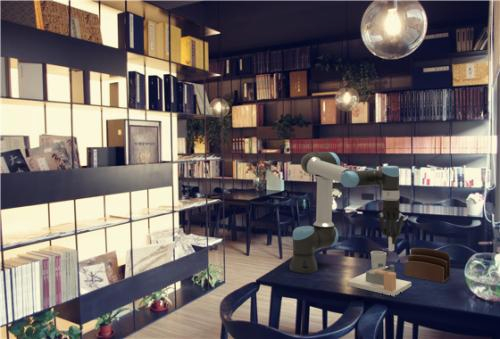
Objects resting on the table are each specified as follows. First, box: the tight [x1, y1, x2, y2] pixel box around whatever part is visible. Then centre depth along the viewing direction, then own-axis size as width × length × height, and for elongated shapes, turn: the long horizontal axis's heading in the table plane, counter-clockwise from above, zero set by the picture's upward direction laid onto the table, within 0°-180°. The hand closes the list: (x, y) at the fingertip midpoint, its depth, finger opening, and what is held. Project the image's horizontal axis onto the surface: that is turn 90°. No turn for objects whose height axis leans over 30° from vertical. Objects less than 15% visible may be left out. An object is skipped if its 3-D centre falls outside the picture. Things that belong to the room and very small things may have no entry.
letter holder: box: [404, 247, 451, 284], centre depth 222 cm, size 10×20×14 cm, turn 49°
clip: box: [374, 269, 397, 291], centre depth 199 cm, size 9×4×8 cm, turn 47°
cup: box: [370, 250, 387, 269], centre depth 226 cm, size 8×8×12 cm
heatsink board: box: [346, 263, 412, 297], centre depth 209 cm, size 24×19×9 cm
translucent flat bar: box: [369, 265, 389, 274], centre depth 209 cm, size 4×16×1 cm, turn 137°
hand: (391, 250), depth 198 cm, fingers closed
